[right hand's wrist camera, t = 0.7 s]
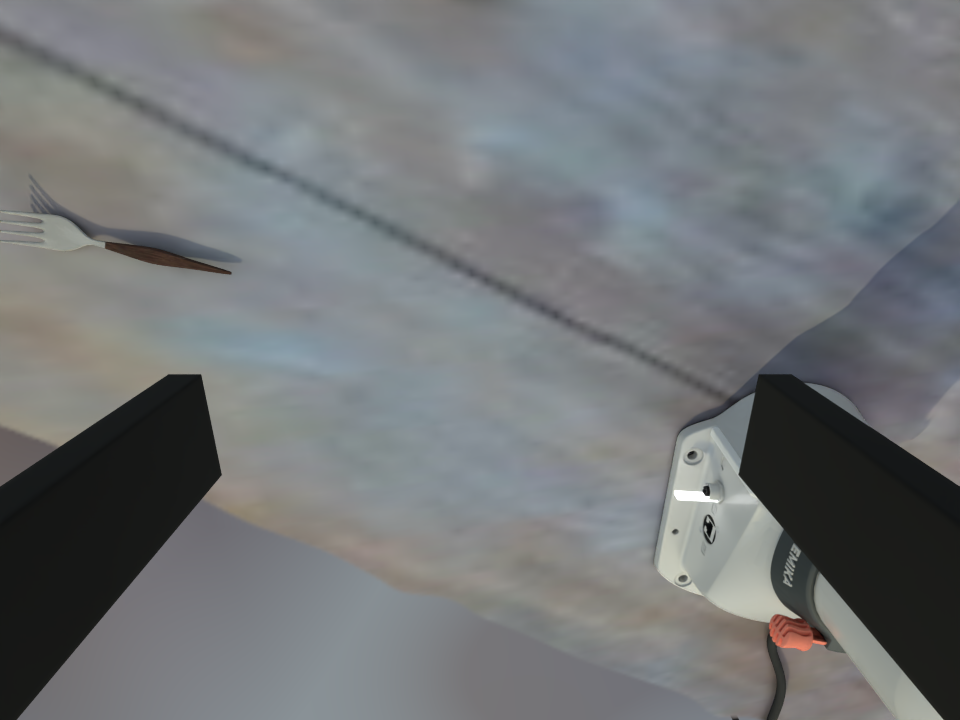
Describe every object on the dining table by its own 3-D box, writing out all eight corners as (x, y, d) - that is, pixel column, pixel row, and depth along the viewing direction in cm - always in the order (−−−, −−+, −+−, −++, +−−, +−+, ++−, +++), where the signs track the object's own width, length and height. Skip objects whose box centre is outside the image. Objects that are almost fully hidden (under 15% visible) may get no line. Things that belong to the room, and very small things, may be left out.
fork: (233, 288, 39) (221, 294, 38) (15, 240, 38) (-9, 243, 36) (235, 255, 39) (223, 259, 37) (12, 204, 37) (-13, 206, 35)
